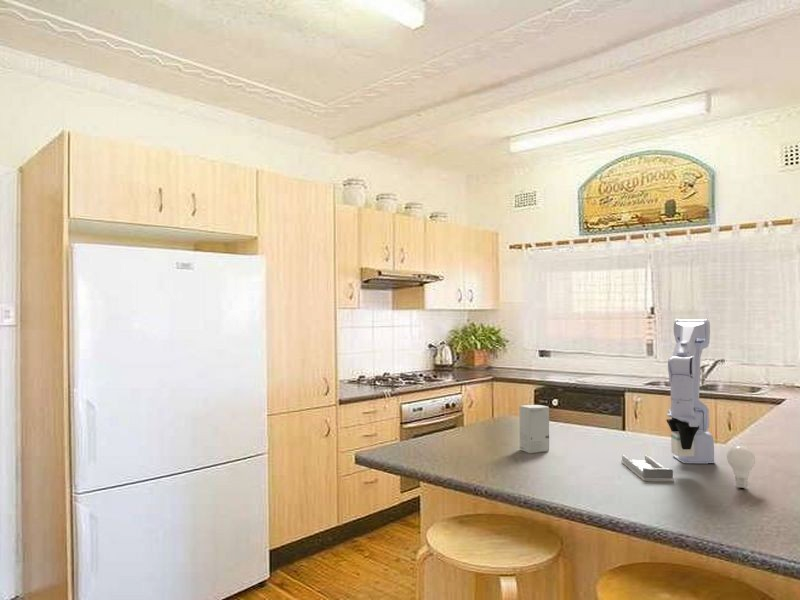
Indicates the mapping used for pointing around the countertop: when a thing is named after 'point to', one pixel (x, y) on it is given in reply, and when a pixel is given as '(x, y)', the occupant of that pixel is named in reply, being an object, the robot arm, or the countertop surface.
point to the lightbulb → (741, 464)
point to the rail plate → (648, 469)
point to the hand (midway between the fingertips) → (682, 446)
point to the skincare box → (534, 428)
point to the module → (677, 447)
